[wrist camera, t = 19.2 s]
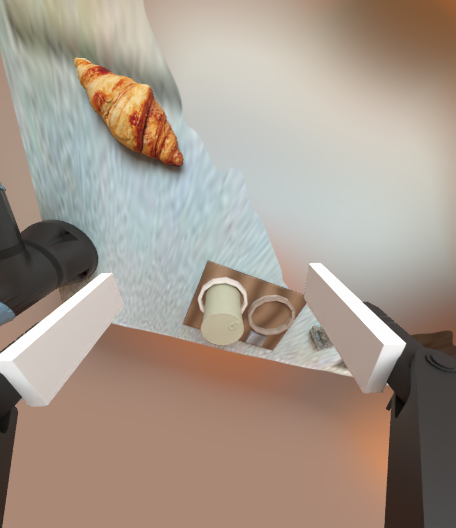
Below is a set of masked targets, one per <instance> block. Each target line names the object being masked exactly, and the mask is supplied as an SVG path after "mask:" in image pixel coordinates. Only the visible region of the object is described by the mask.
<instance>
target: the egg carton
mask: <svg viewBox="0 0 456 528" xmlns="http://www.w3.org/2000/svg"><path fill="white" fill-rule="evenodd" d="M315 331H318V333H319V335H320V337H321V339H320V341H319V340H318V338H317V337H316V335H315V334H316V333H315ZM310 333H311V335H312V340H313V341H314V343H315V345H316V348H317V350H318V351H319V350H321V349H323V348H327V347H332V346H334V345H333V344H332V342H331V341H330V339H329V337H328V336H327V334H326V333H325V331H324V329H323V328H322V326H321V327H318V326H316V325H315V326H313V327H312V329H311V330H310Z"/></svg>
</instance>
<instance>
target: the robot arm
mask: <svg viewBox="0 0 456 528" xmlns="http://www.w3.org/2000/svg"><path fill="white" fill-rule="evenodd" d="M5 191H6V190H5V188H4V186H2V185H1V183H0V326H1V325H3V324H5V323H7V322H9V321H12V320H13V319H14V318H15V317H16V316H17V315H19V314H20V313H22V312H23V311H25V310H26V309H28V308H29V307H30V306H32V305H33V304H35V303H36V302H38V301H39V300H40V299H42V298H43V297H45V296H46V295H48V294H49V293H51V292H52V291H54V290H55V289H57V288H58V287H62V286H65V285H69V284H73V283H76V282H79V281H82V280H84V279H85V278H87V277H88V276H89V275H91V274H92V273H93V272H94V271H95V269H96V267H97V263H98V256H97V251H96V249H95V247H94V245H93V243H92V241H91V240H90V239H89V238H88V237H87V235H86V234H84V233H83V232H82V231H81V230H80V229H78V228H77V227H75V226H73V225H71V224H69V223H66V222H63V221H59V220H46V221H42V222H38V223H35V224H33V225H31V226H29V227H28V228H26V229H25V230H24V231H22V232H21V233H20V231H19V229H18V226H17V223H16V221H15V218H14V215H13V213H12V210H11V207H10V205H9V202H8V199H7V196H6V194H5ZM304 299H305V301H306V302H307V304H308V306H309V307H310V309H311V310H312V312H313V314H314V315H315V317H316V318H317V320H318V321H319V323H320V325H321V326H322V328H323V329H324V331H325V333H326V334H327V336H328V337H329V339H330V341H331V342H332V344H333V345H334V347H335V348H336V350H337V352H338V353H339V355H340V356H341V358H342V360H343V361H344V363H345V364H346V366H347V368H348V369H349V371H350V372H351V374H352V375H353V377H354V379H355V380H356V382H357V383H358V385H359V387H360V388H361V390H362V391H363V393H380V392H383V390H384V388H385V386H386V384H387V383H388V384H389V386H390V387H391V388H392V389H393V390H394V394H393V396H392V397H391V399H390V401H389V403H388V405H387V407H386V409H387V410H390V409H391V421H390V438H389V456H388V474H387V491H386V508H385V526H384V527H385V528H456V359H454V358H452V357H451V356H449V355H447V354H445V353H443V352H440V351H437V350H434V349H430V348H424V347H423V346H422V345H421V344H420V343H418V342H417V341H416V340H415V339H414V338H413V337H412V336H410V335H409V334H408V333H407V332H406V331H405V330H404V329H402V328H401V327H400V326H399V325H398V324H396V323H395V322H394V321H393V320H392V319H391V318H390V317H388V316H387V315H386V314H385V313H384V312H383V311H382V310H381V309H379V308H378V307H376V306H374V305H372V304H371V303H369V302H361V301H360V300H359V299H358V298H357V297H356V296H355V295H354V294H353V293H352V292H351V291H350V290H349V289H347V288H346V287H345V286H344V285H343V284H342V283H341V282H340V281H339V280H338V279H337V278H335V276H334V275H332V274H331V273H330V272H329V271H328V270H327V269H326V268H325V267H324V266H323V265H322V264H321V263H312V264H309V265H308V272H307V279H306V286H305V292H304ZM123 307H124V304H123V301H122V298H121V295H120V292H119V290H118V287H117V284H116V281H115V278H114V275H113V273H101V274H100V275H99V276H97V277H96V278H95V279H94V280H92V281H91V282H90V283H89V284H87V285H86V286H85V287H84V288H82V289H81V290H80V291H79V292H77V293H76V294H75V295H74V296H72V297H71V298H70V299H69V300H67V301H66V302H65V303H64V304H62V305H61V306H60V307H59V308H57V309H56V310H55V311H54V312H53V313H51V314H50V315H48V316H47V317H46V318H45V319H43V320H42V321H40V322H38V323H36V324H35V325H34V326H32V327H31V328H30V329H29V330H27V331H26V332H25V334H22V335H21V336H20V337H18V338H17V340H16V341H13V342H12V343H11V344H9V345H8V346H7V347H6V348H4V349H3V350H2V351H0V528H2V524H3V516H4V510H5V503H6V495H7V488H8V481H9V474H10V467H11V459H12V452H13V445H14V438H15V431H16V424H17V416H18V410H17V408H16V407H15V405H16V404H17V402H18V401H19V400H20V399H21V398H22V399H23V400H24V401H25V402H26V403H27V404H28V406H47V405H48V404H49V403H50V402H51V400H52V399H53V398H54V396H55V395H56V394H57V393H58V391H59V390H60V389H61V387H62V386H63V385H64V383H65V382H66V381H67V379H68V378H69V377H70V376H71V374H72V373H73V372H74V370H75V369H76V368H77V367H78V365H79V364H80V363H81V361H82V360H83V359H84V357H85V356H86V355H87V354H88V352H89V351H90V350H91V348H92V347H93V346H94V344H95V343H96V342H97V341H98V339H99V338H100V337H101V335H102V334H103V333H104V331H105V330H106V329H107V328H108V326H109V325H110V324H111V322H112V321H113V320H114V319H115V317H116V316H117V315H118V313H119V312H120V311H121V310H122V308H123Z"/></svg>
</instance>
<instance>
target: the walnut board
mask: <svg viewBox="0 0 456 528" xmlns="http://www.w3.org/2000/svg"><path fill="white" fill-rule="evenodd" d="M223 277H227V278H230V279H233V280H236V281H238V282H239V283H240V284H241V285H242V286H243V287H244V289H245V290H246V294H247V303H248V304H247V306H246V308H245V310H244V312H243V313H242V320H243V325H244V332H243V334H242V336H241V338H240V339H239V341H243V342H246V343H250V344H253V345H256V346H260V347H263V348H267V349H270V350H274V348H275V347H276V345H277V344H278V342H279V341H280V340H281V338H282V337H283V335H284V334H285V333H286V331H287V330H288V329H289V328H290V326H291V325H292V323H293V322H294V320H295V319H296V317H297V316H298V314H299V313H300V311H301V310H302V309H303V307H304V306H305V304H306V303H307V302H306V301H305V299H304V295H303V294H300V293H297V292H294V291H292V290H289V289H286V288H283V287H280V286H278V285H275V284H272V283H269V282H266V281H264V280H261V279H258V278H255V277H253V276H250V275H247V274H244V273H241V272H239V271H236V270H233V269H230V268H227V267H225V266H222V265H219V264H216V263H214V262H211V261H208V262H207V264H206V267H205V269H204V272H203V274H202V277H201V279H200V282H199V284H198V287H197V290H196V292H195V295H194V297H193V300H192V302H191V305H190V307H189V310H188V312H187V315H186V317H185V320H184V323H183V324H185V325H188V326H191V327H195V328H198V329H200V326H201V324H202V321H203V315H204V313H203V312H202V311H201V310H200V306H199V302H198V296H199V293H200V291H201V289H202V286H203V285H205V284H206V283H207V282H209V281H210V280H212V279H215V278H223ZM226 284H227V283H226ZM214 285H216V284H214ZM214 285H212V286H214ZM212 286H211V287H212ZM232 286H233V285H232ZM211 287H209V288H208V289H206V290H205V291H204V294H203V296H202V300H203V304H204V306H205V302H206V293H207V291H208V290H209V289H210V288H211ZM234 287H235V288H236V289H237V290H238V291H239V293H240V304H241V305H242V303H243V301H244V296H243V294H242V292H241V291H240V290H239V289H238V288H237V287H236V286H234Z"/></svg>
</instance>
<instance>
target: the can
mask: <svg viewBox="0 0 456 528" xmlns="http://www.w3.org/2000/svg"><path fill="white" fill-rule="evenodd" d="M201 332H202V335H203V336H204V338H205V339H206V340H208V341H209V342H211V343H213V344H217V345H228V344H232V343H234V342H236V341H237V340H239V339H240V338H241V336H242V334H243V332H244V325H243V320H242V312H241V304H240V293H239V291H238V290H237V289H236V288H235V287H234V286H232V285H230V284H226V283H222V284H216V285H214V286H212V287H211V288H210V289H209V290H208V291H207V293H206V302H205V309H204V315H203V321H202V325H201Z"/></svg>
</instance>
